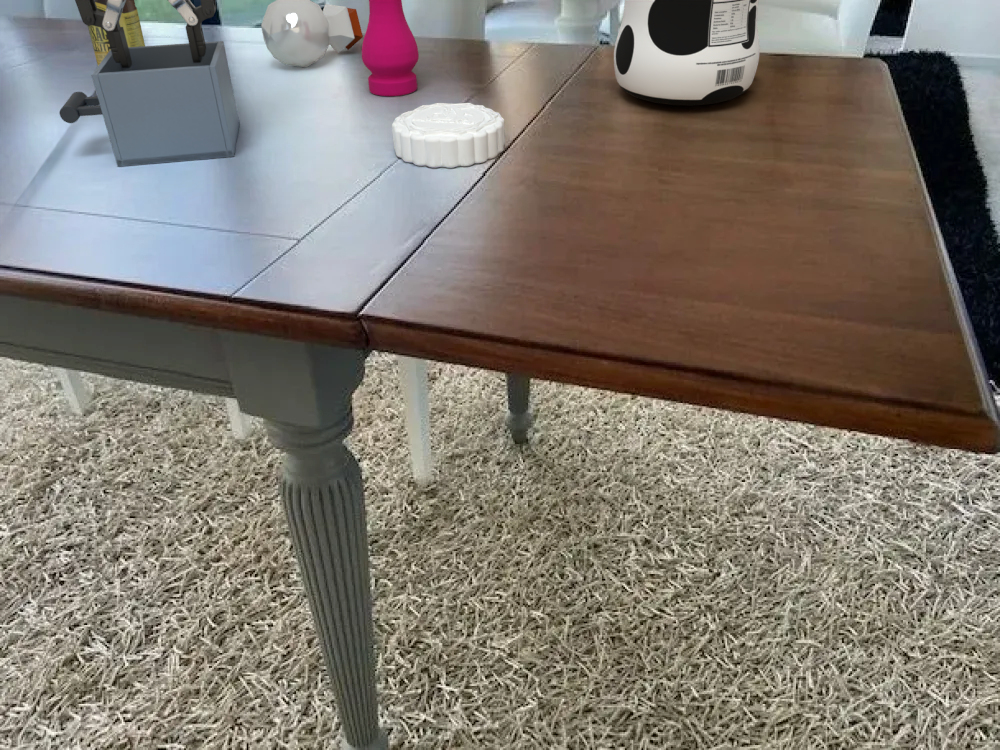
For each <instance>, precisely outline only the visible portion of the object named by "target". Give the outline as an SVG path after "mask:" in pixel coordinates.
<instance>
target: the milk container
mask: <svg viewBox="0 0 1000 750" xmlns="http://www.w3.org/2000/svg"><path fill="white" fill-rule="evenodd" d="M759 1H760V0H624V2H623V3H624V4H623V14H622V18H621V22H620V27H619V30H618V34H617V37H616V40H615V44H614V48H613V67H614V69H613V70H614V74H615V80H616V82H617V84H618V86H619V87H620V89H621V90H623V91H624V92H625V93H627V94H628V95H631V96H633V98H636V99H638V100H639V99H640V100H644V101H648V102H650V103H655V104H660V105H662V104H663V105H669V106H688V107H690V106H691V107H693V106H701V105H714V104H719V103H722V102H727V101H731V100H733V99H735V98H737V97H739V96H741V95H742V94H744V93H746V92H747V91H748V89H749V88H750V87H751V86H752V84H753V82H754V78H755V76H756V73H757V69H758V66H759V61H760V52H761V51H760V50H761V48H760V47H761V45H760V37H759V29H758V9H759Z"/></svg>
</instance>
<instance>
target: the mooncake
mask: <svg viewBox="0 0 1000 750" xmlns="http://www.w3.org/2000/svg"><path fill="white" fill-rule="evenodd" d="M505 131H506V130H505V119H504V118H503V117H502V115H501V113H500V112H498V111H494V110H493V109H492V108H489V107H486V106H485V105H483V104H474V103H471V102H460V103H447V102H436V103H431V104H424V105H420V106H418V107H417V108H416V107H415V108H414V109H412V110H409V111H405V112H403V113H401V114H400V115H398V116H397V117H395V118H394V121H393V122H392V123H391V133H392V144H393V151H395V156H396V157H398V158H400V159H402V160H403V161H404V162H405V163H411V164H412V163H413V164H414V165H415V166H418V167H429V168H433V169H437V168H446V169H452V168H457V167H470V166H472V165H474V164H483V163H486V162H487V161H488V160H492V159H494V158H495V159H496V158H497V156H498V155H499V154H501V153H503V152H504V149H505V148H504V147H505V144H506V135H505V134H506V133H505Z"/></svg>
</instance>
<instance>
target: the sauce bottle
mask: <svg viewBox="0 0 1000 750" xmlns="http://www.w3.org/2000/svg"><path fill="white" fill-rule="evenodd" d="M94 1H95V3H96V6H97V9H98V11H100V12H104V13H105V11H106V7H107V1H108V0H94ZM119 24H120V27H123V29H124V32H125V36H126V40H127V44H128V47H141V46H146V44H145V38H144V33H143V30H142V26H141V21H140V16H139V12H138V7H137V6H136V0H126V2H125V5H124V7H123V10H122V14H121V17H120V21H119ZM87 29H88V34H89V37H90V41H91V44H92V45H91V46H92V49H93V52H94V56H95V61H96V64H97V67H98V66H99V64H100V63H101V62H102V60H103V59H104V58H105V56H106V55H107V54H108V52H109V51H110V50H111V48H110V45H109V41H108V37H107V34H106V32H105V31H104V30H103V29H102V28H100V27H97V26H93V25H92V26H88V25H87Z"/></svg>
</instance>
